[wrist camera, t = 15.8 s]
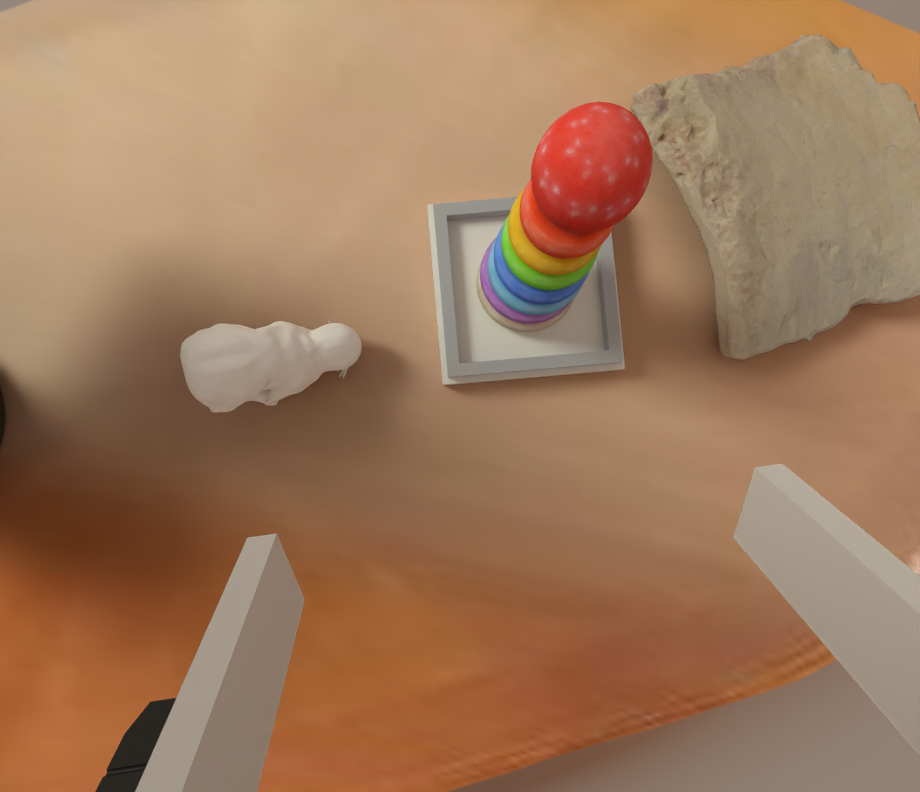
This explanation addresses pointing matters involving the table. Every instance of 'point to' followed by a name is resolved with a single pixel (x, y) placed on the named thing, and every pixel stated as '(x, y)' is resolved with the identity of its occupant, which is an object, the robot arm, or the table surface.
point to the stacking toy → (564, 215)
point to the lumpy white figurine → (263, 361)
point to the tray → (495, 347)
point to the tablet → (793, 188)
